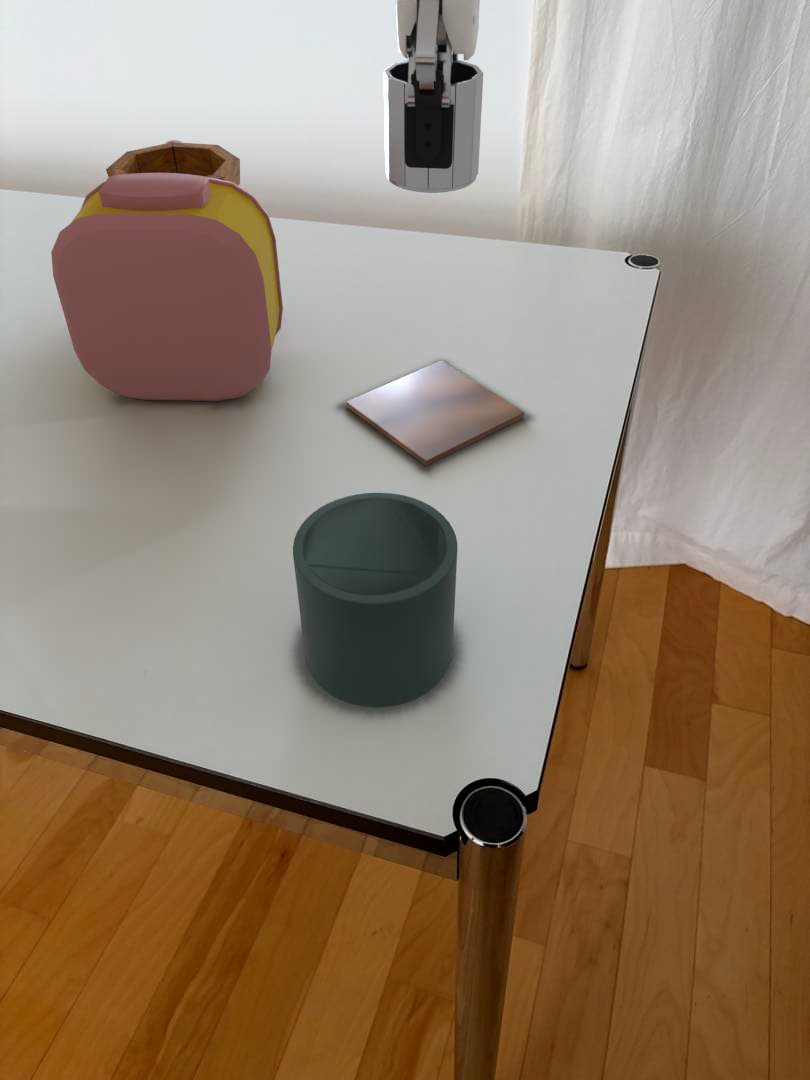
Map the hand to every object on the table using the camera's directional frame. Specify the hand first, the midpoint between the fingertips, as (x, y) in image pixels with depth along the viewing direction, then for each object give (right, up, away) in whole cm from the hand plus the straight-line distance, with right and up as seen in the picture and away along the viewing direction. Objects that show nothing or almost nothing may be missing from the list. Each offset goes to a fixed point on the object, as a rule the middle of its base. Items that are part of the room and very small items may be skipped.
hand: (432, 145), depth 64 cm
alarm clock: (-23, -12, +25) cm, 37 cm away
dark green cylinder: (-4, -36, -1) cm, 36 cm away
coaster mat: (+1, -16, +21) cm, 26 cm away
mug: (-26, +1, +40) cm, 48 cm away
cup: (0, -2, +1) cm, 2 cm away
